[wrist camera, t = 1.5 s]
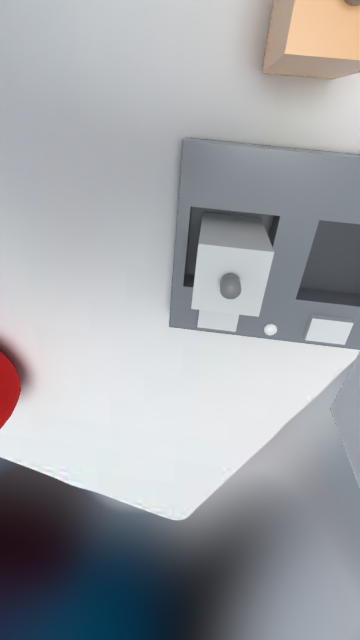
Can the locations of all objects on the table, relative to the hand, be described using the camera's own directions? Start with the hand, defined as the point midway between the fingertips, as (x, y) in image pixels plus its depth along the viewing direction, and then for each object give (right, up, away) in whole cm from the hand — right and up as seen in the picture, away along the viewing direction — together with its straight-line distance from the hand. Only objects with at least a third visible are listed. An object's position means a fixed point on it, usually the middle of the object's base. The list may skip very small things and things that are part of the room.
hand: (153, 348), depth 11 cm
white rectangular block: (+5, +8, +19) cm, 22 cm away
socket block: (+10, +7, +19) cm, 23 cm away
